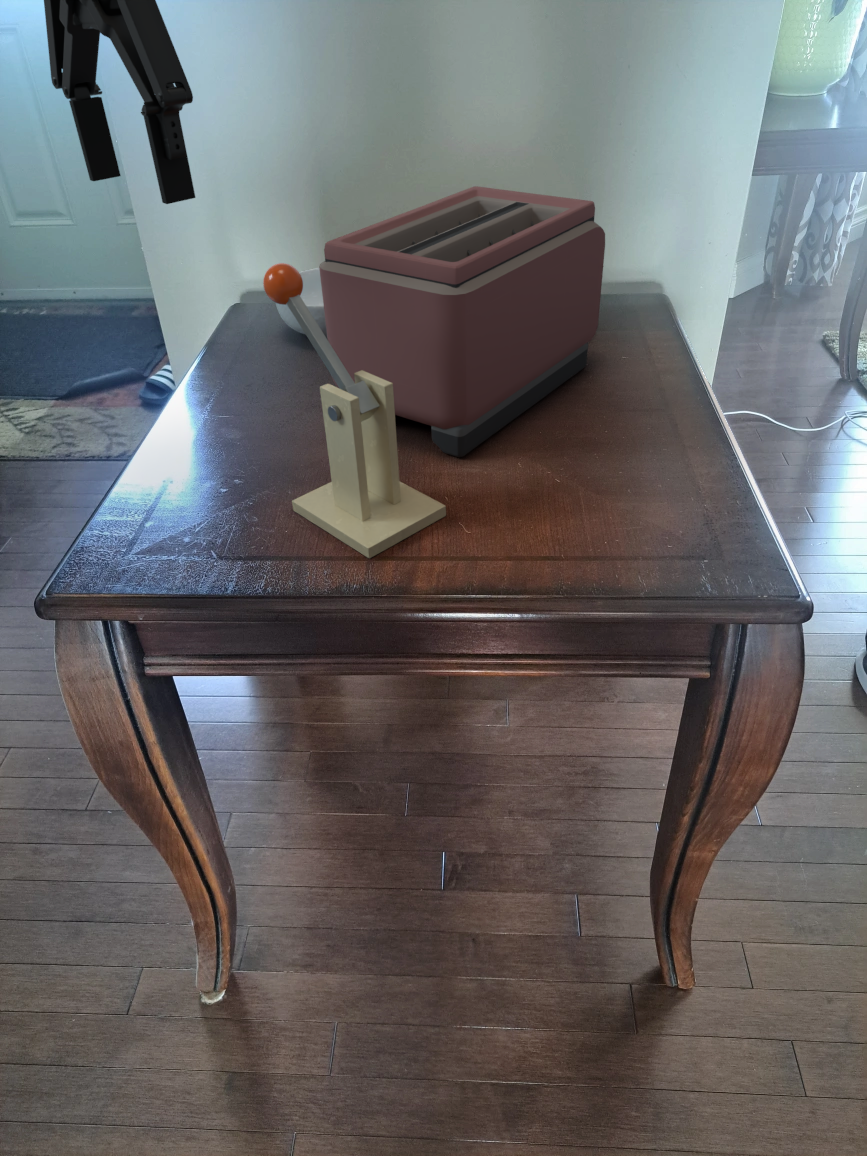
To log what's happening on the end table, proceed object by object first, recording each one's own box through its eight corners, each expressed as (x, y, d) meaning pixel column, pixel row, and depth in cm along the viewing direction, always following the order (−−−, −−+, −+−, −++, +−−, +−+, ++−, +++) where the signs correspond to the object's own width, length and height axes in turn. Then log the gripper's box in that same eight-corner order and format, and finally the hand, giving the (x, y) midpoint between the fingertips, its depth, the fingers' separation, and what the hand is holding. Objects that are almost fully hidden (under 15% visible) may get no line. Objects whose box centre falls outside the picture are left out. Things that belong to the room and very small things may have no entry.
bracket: (293, 510, 84) (272, 383, 76) (368, 473, 89) (356, 351, 81) (369, 558, 77) (355, 424, 68) (446, 515, 82) (442, 386, 74)
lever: (251, 284, 77) (261, 260, 74) (283, 274, 79) (294, 250, 76) (343, 431, 76) (358, 413, 73) (373, 418, 78) (388, 400, 75)
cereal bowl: (291, 311, 130) (284, 265, 126) (396, 309, 129) (393, 263, 125) (270, 354, 116) (261, 304, 112) (387, 352, 116) (384, 302, 111)
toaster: (611, 354, 112) (627, 191, 100) (460, 466, 90) (457, 273, 77) (491, 327, 122) (492, 175, 109) (327, 423, 99) (305, 244, 86)
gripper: (201, -137, 55) (254, 201, 68) (47, -112, 70) (114, 163, 83) (96, -140, 51) (173, 221, 64) (-45, -112, 66) (41, 177, 79)
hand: (140, 189), depth 74 cm, fingers open, 13 cm apart
